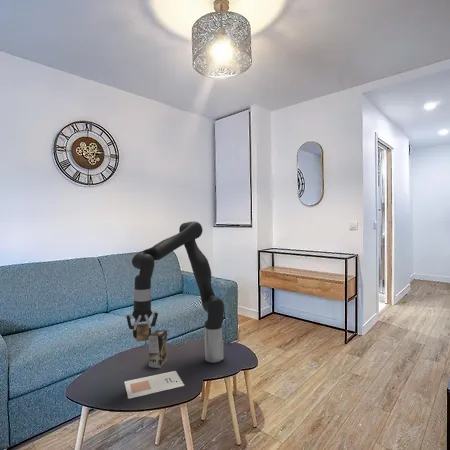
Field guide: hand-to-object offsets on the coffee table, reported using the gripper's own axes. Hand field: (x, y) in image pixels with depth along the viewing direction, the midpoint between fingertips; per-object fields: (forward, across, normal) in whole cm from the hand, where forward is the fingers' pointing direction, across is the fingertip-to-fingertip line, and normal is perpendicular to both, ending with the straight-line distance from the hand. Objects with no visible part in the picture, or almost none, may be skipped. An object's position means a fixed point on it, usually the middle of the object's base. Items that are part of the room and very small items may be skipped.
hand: (141, 336), depth 133 cm
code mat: (+22, -6, 0) cm, 23 cm away
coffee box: (+22, -12, -19) cm, 31 cm away
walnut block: (+1, 0, 0) cm, 1 cm away
